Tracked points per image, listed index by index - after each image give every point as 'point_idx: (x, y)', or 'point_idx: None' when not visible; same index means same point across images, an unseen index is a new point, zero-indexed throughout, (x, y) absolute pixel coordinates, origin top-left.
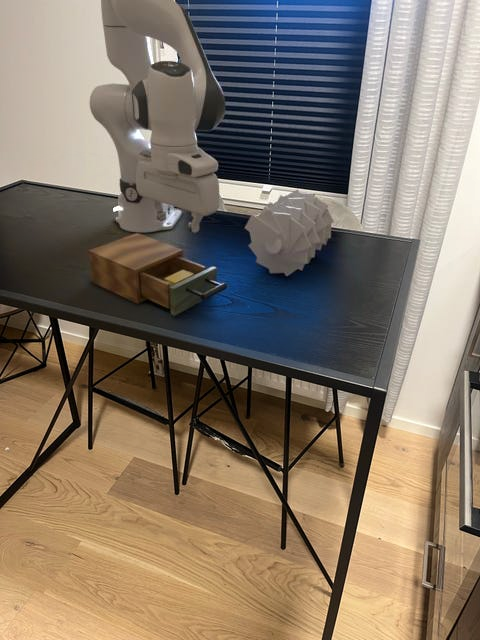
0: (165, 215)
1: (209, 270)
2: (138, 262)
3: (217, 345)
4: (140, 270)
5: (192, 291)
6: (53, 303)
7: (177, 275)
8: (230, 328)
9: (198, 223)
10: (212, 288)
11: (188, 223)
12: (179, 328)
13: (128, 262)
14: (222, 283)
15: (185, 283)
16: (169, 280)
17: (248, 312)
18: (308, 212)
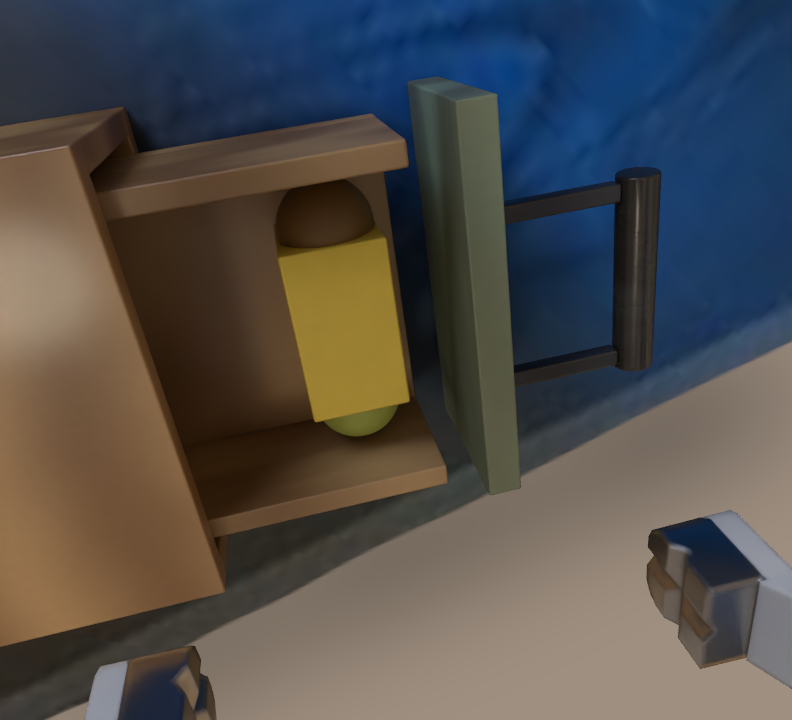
0: (183, 691)
1: (495, 177)
2: (124, 538)
3: (723, 360)
4: (214, 546)
5: (555, 377)
6: (9, 707)
7: (336, 341)
8: (694, 240)
9: (786, 575)
10: (634, 283)
11: (705, 664)
12: (530, 410)
13: (88, 585)
14: (642, 193)
15: (514, 405)
16: (360, 411)
17: (681, 56)
18: None
